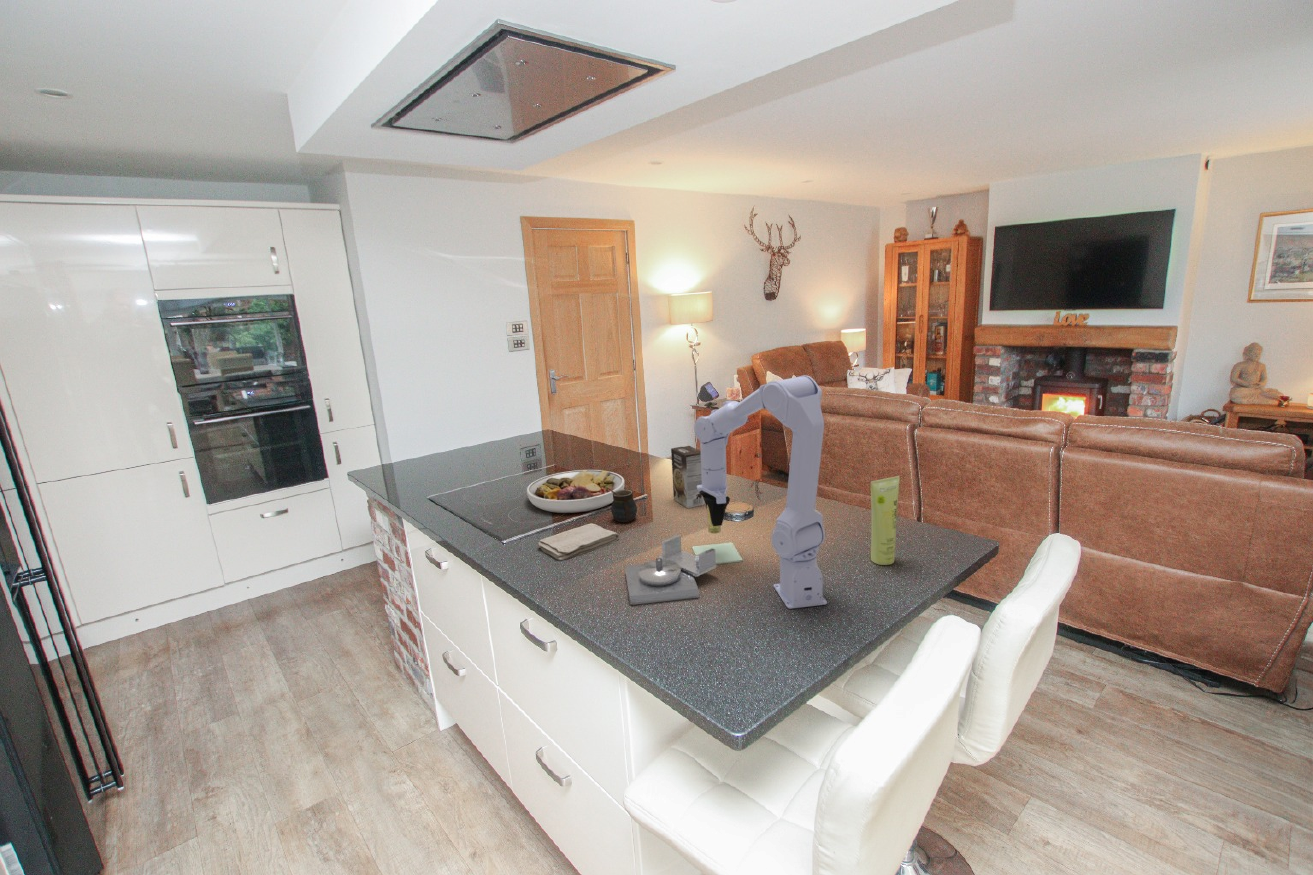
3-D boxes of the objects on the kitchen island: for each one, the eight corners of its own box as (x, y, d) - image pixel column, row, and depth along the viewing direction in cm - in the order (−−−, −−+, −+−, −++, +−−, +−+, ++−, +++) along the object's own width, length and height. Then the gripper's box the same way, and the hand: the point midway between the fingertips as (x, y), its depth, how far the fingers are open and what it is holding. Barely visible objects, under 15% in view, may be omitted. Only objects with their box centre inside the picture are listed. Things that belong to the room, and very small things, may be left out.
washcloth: (535, 550, 151) (534, 538, 150) (593, 529, 162) (592, 518, 162) (561, 564, 142) (559, 552, 141) (620, 541, 154) (619, 530, 153)
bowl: (524, 491, 196) (521, 468, 194) (613, 479, 204) (611, 456, 203) (533, 523, 168) (530, 497, 166) (636, 507, 176) (634, 482, 175)
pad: (742, 561, 137) (742, 559, 137) (699, 565, 136) (699, 564, 136) (732, 543, 147) (732, 542, 147) (692, 547, 146) (691, 546, 146)
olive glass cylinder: (722, 532, 139) (721, 506, 137) (709, 534, 138) (708, 507, 137) (719, 527, 142) (717, 501, 140) (706, 529, 141) (705, 503, 140)
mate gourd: (641, 521, 165) (639, 487, 162) (615, 527, 162) (612, 492, 160) (633, 512, 171) (630, 479, 169) (607, 518, 169) (604, 484, 166)
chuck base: (698, 597, 122) (698, 588, 122) (630, 605, 121) (630, 596, 120) (687, 567, 136) (686, 559, 135) (625, 573, 134) (625, 565, 134)
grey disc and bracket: (663, 592, 120) (662, 574, 119) (625, 573, 130) (624, 555, 129) (716, 567, 130) (716, 549, 129) (678, 550, 139) (677, 534, 138)
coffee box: (672, 499, 180) (670, 448, 176) (691, 495, 183) (689, 444, 179) (686, 508, 172) (684, 455, 168) (706, 504, 175) (704, 451, 171)
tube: (892, 568, 130) (895, 483, 125) (867, 564, 132) (870, 480, 128) (896, 558, 135) (899, 475, 130) (872, 554, 137) (875, 473, 132)
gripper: (690, 459, 143) (692, 513, 146) (702, 477, 129) (704, 536, 132) (719, 457, 144) (721, 510, 147) (734, 474, 130) (736, 533, 133)
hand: (715, 522), depth 140 cm, fingers closed on olive glass cylinder, 3 cm apart
